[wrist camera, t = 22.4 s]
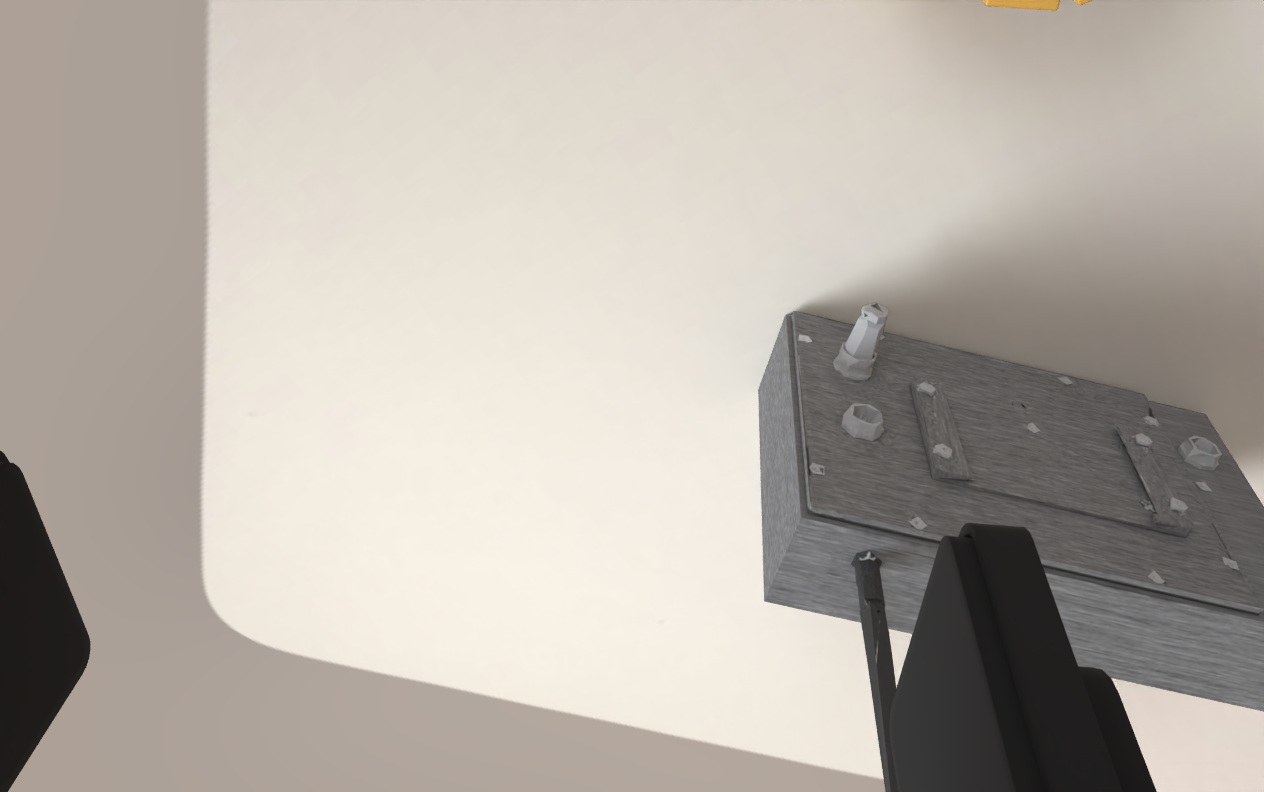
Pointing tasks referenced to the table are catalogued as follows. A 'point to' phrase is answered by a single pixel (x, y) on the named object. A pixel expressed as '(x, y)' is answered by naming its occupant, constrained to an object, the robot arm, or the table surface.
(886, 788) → the electronic device
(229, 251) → the table surface
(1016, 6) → the yellow segmented ring
